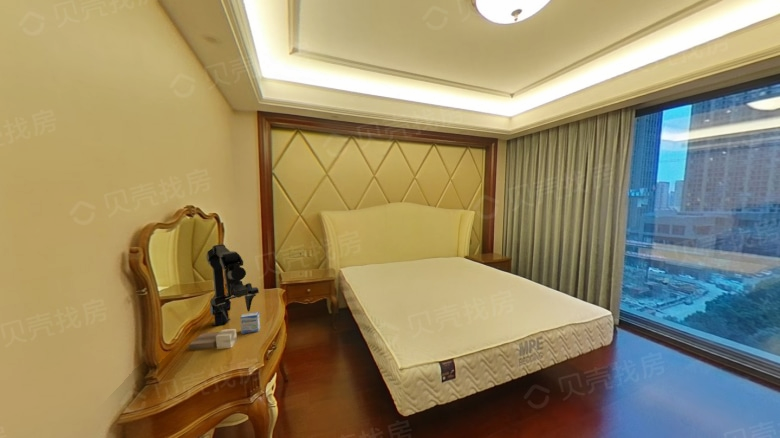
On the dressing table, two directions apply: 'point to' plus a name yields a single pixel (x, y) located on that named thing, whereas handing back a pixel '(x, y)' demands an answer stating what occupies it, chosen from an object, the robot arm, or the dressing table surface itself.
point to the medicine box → (250, 322)
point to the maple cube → (226, 338)
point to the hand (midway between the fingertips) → (238, 314)
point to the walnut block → (204, 341)
